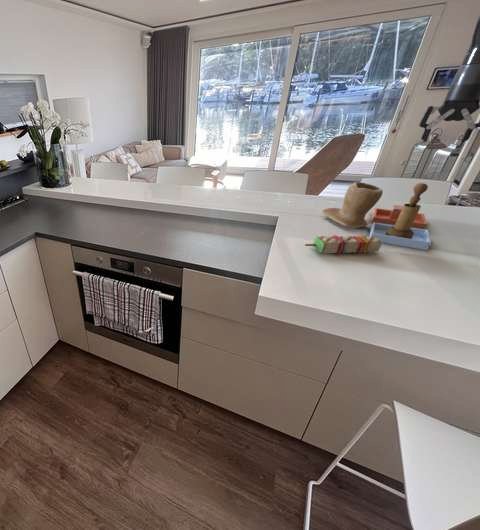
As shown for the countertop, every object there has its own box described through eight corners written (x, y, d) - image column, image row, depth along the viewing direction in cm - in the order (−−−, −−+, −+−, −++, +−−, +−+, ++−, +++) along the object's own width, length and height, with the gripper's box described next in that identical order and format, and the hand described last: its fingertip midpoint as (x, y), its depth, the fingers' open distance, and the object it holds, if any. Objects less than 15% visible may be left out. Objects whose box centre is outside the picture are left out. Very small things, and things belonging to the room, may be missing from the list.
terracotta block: (405, 219, 107) (411, 206, 105) (406, 224, 104) (412, 210, 102) (388, 217, 110) (393, 204, 108) (388, 221, 107) (393, 208, 104)
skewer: (366, 246, 94) (372, 232, 91) (379, 255, 88) (386, 240, 86) (298, 247, 96) (302, 233, 94) (307, 256, 91) (311, 242, 88)
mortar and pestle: (380, 235, 98) (402, 182, 89) (393, 231, 100) (416, 179, 90) (402, 243, 92) (429, 187, 83) (415, 238, 94) (443, 184, 85)
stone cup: (377, 229, 104) (394, 187, 96) (343, 230, 104) (357, 190, 97) (349, 214, 117) (362, 177, 109) (319, 216, 117) (330, 179, 110)
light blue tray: (424, 237, 96) (428, 230, 95) (427, 250, 89) (431, 242, 87) (370, 228, 104) (373, 222, 103) (369, 240, 97) (371, 233, 95)
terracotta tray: (421, 220, 107) (424, 213, 106) (423, 231, 100) (426, 224, 98) (372, 214, 115) (375, 208, 114) (371, 223, 108) (373, 217, 106)
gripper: (437, 84, 85) (413, 143, 93) (511, 80, 77) (477, 144, 85) (434, 84, 90) (412, 139, 98) (504, 79, 82) (473, 140, 90)
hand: (442, 141), depth 92 cm, fingers open, 8 cm apart
